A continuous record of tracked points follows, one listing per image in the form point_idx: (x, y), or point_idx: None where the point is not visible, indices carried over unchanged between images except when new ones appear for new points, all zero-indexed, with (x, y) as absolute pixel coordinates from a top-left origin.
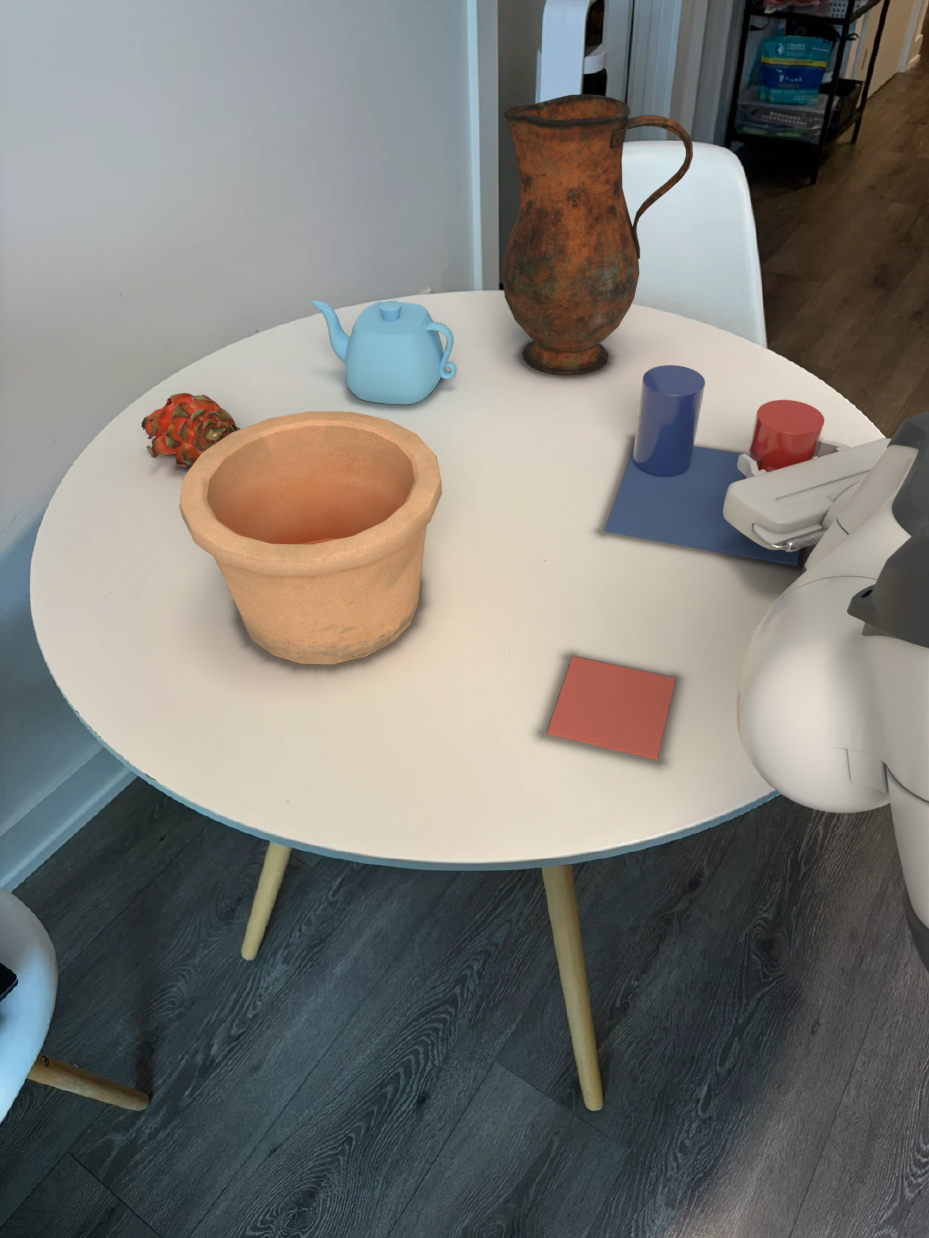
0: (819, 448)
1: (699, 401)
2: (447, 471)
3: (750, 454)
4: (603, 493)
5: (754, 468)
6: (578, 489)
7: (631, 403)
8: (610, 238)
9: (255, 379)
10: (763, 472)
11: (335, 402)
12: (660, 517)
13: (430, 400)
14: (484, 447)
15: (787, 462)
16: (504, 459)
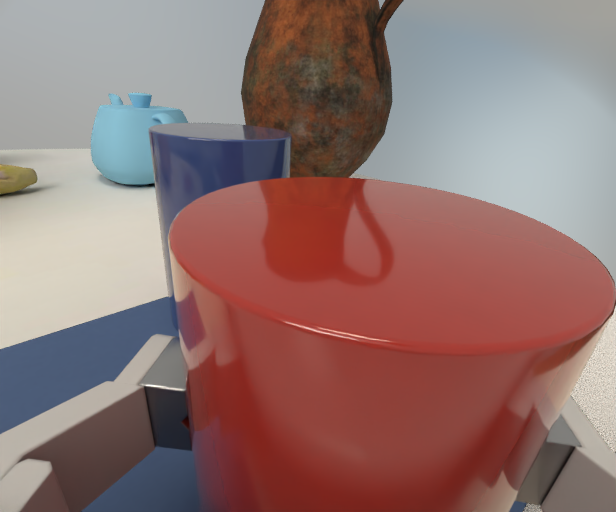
0: (561, 476)
1: (239, 177)
2: (12, 226)
3: (180, 348)
4: (67, 319)
5: (41, 426)
6: (56, 298)
7: None
8: (327, 24)
9: (88, 157)
10: (4, 489)
11: (91, 173)
12: (3, 424)
13: (148, 188)
14: (95, 223)
15: (232, 497)
16: (81, 237)
